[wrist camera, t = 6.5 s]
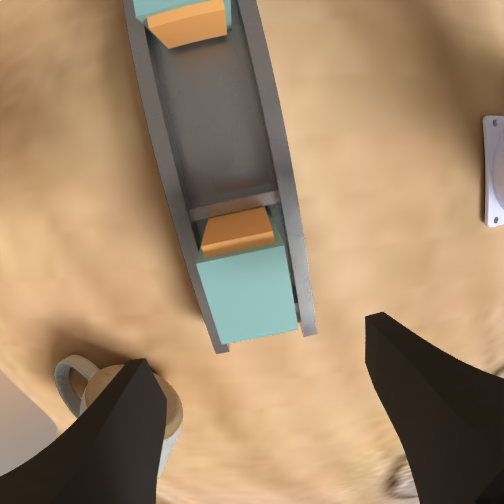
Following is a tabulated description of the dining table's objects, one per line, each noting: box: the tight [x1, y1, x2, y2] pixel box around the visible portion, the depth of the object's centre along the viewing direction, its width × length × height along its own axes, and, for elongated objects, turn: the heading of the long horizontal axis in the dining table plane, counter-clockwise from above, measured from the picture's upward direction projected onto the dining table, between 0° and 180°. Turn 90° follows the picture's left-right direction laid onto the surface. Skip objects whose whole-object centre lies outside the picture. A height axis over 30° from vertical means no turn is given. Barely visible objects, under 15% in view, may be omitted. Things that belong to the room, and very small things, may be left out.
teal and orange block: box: [196, 206, 298, 344], centre depth 15 cm, size 3×4×5 cm
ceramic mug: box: [54, 355, 183, 479], centre depth 20 cm, size 11×8×8 cm
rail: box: [123, 0, 317, 354], centre depth 15 cm, size 6×22×3 cm, turn 12°
